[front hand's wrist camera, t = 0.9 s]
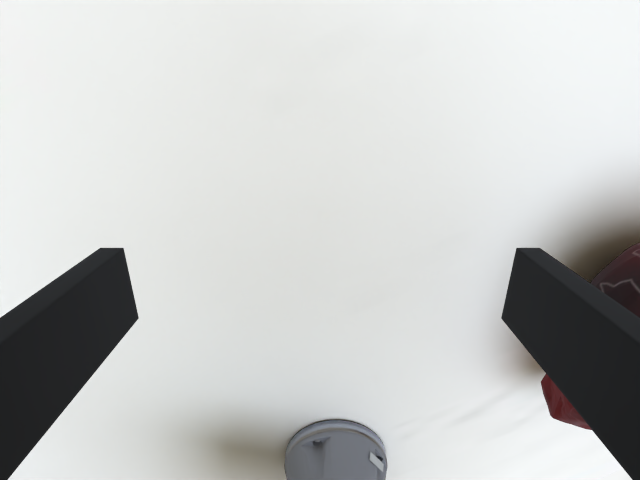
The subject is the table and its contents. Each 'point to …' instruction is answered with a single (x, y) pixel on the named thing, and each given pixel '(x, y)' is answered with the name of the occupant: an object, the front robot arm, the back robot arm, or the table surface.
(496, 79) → the table surface
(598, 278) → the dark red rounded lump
